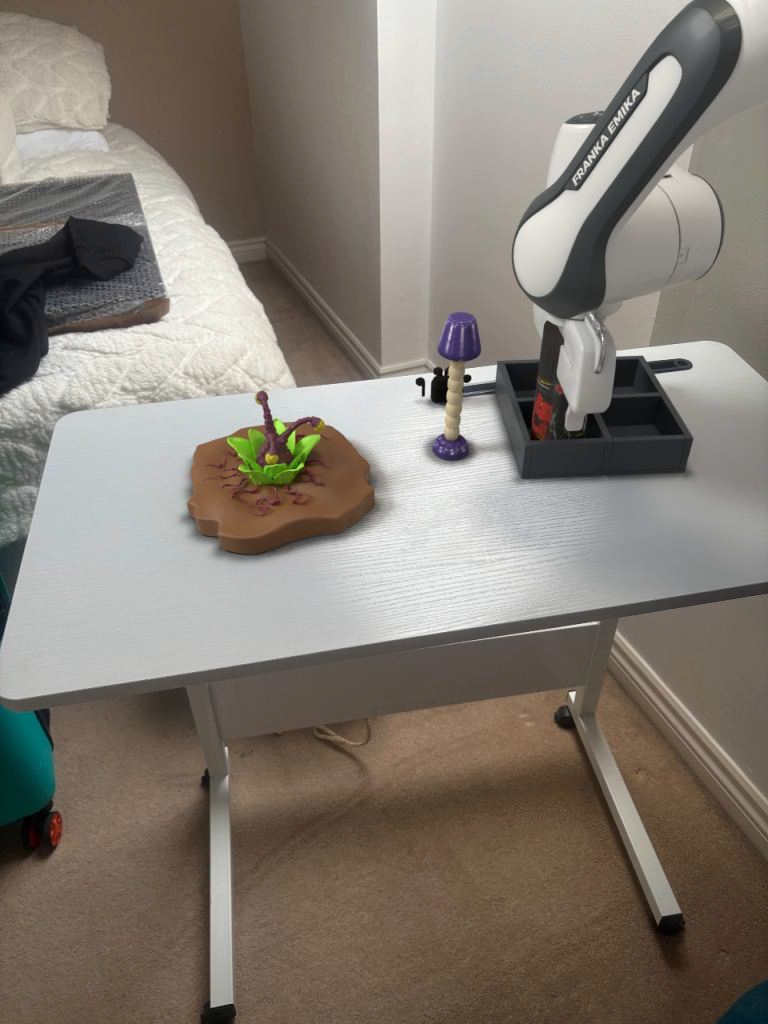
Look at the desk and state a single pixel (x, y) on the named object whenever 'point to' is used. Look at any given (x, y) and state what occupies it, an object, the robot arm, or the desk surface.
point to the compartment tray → (597, 426)
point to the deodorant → (551, 392)
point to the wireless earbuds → (439, 384)
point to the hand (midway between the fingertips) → (562, 403)
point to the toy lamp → (456, 380)
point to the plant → (278, 484)
